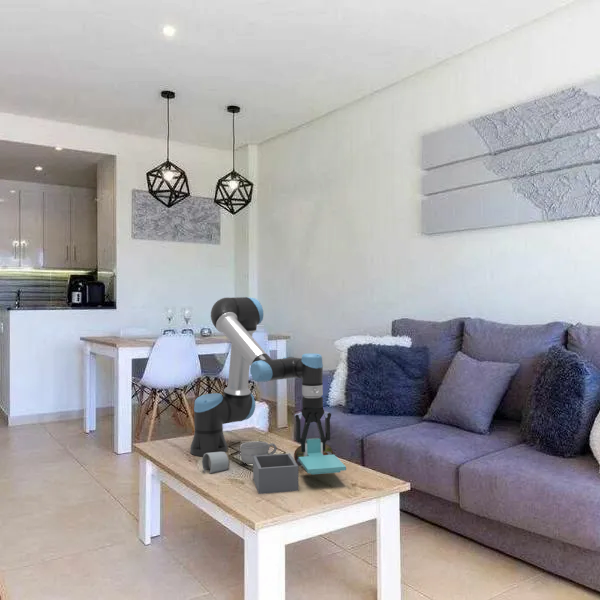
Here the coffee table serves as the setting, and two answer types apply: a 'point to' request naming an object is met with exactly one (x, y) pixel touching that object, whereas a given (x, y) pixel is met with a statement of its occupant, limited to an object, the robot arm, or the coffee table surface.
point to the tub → (275, 473)
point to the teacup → (255, 450)
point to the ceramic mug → (215, 461)
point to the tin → (301, 454)
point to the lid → (319, 459)
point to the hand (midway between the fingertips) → (313, 460)
